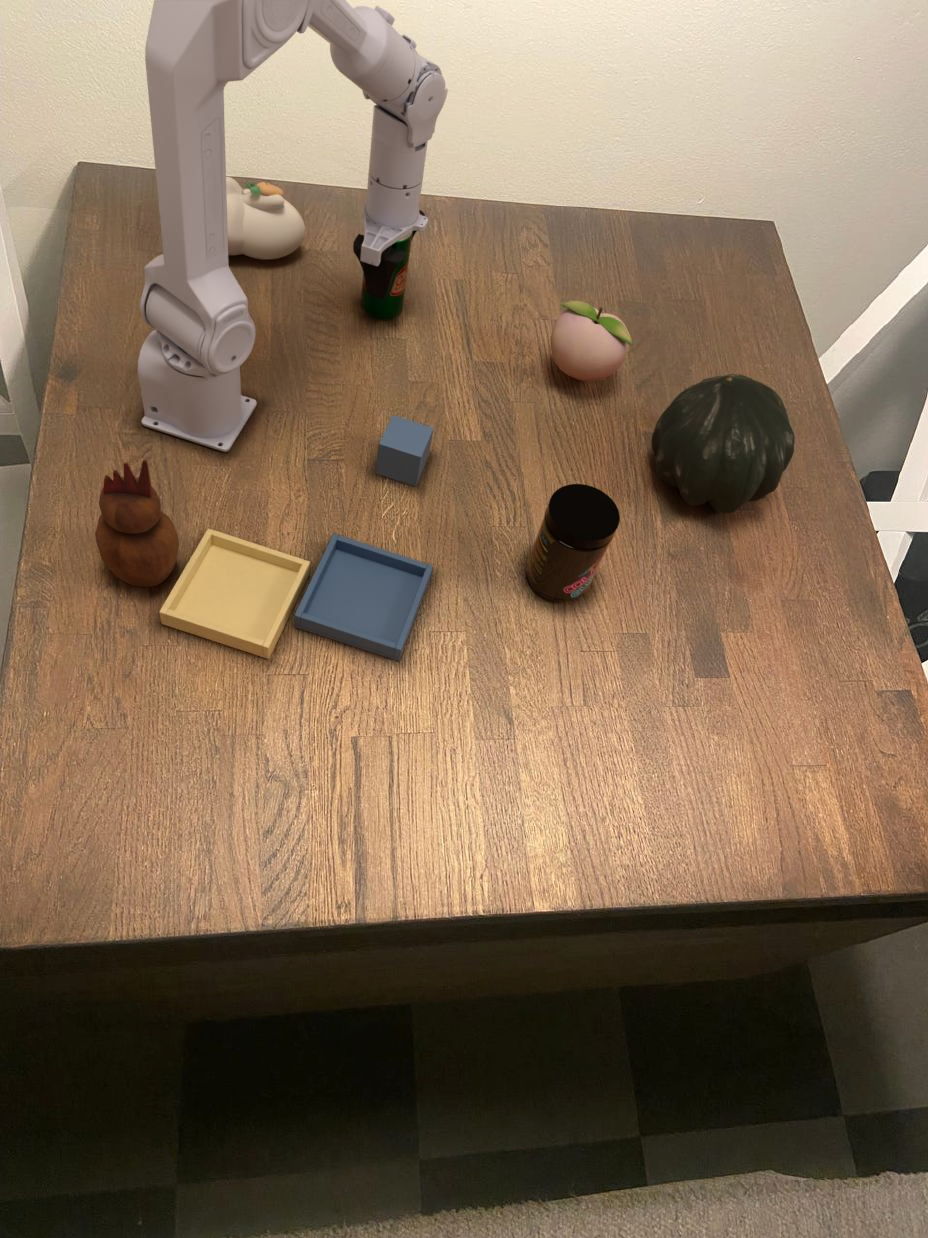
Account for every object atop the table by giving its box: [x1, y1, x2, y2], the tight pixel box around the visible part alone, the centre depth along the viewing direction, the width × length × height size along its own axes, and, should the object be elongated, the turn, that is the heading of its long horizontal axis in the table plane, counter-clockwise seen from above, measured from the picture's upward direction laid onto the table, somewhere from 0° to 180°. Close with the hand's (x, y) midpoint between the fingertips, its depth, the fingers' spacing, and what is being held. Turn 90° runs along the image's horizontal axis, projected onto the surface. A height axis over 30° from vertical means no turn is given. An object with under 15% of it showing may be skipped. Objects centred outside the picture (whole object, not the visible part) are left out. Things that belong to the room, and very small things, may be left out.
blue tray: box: [293, 533, 434, 662], centre depth 86 cm, size 10×10×2 cm
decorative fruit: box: [550, 300, 633, 383], centre depth 105 cm, size 9×8×10 cm
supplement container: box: [525, 483, 621, 603], centre depth 88 cm, size 7×7×10 cm
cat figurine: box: [226, 176, 306, 261], centre depth 109 cm, size 10×8×15 cm
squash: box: [651, 373, 796, 514], centre depth 99 cm, size 14×15×15 cm
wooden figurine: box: [94, 459, 180, 588], centre depth 79 cm, size 7×6×15 cm
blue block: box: [375, 414, 434, 487], centre depth 95 cm, size 4×4×4 cm
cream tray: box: [158, 528, 311, 660], centre depth 84 cm, size 10×10×2 cm
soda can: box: [360, 232, 413, 322], centre depth 105 cm, size 5×5×12 cm
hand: (384, 282), depth 107 cm, fingers closed on soda can, 5 cm apart
